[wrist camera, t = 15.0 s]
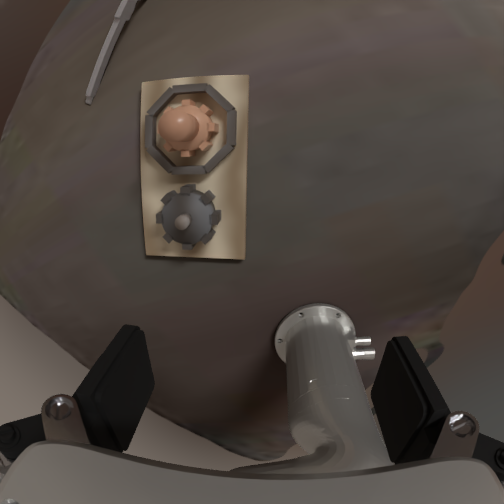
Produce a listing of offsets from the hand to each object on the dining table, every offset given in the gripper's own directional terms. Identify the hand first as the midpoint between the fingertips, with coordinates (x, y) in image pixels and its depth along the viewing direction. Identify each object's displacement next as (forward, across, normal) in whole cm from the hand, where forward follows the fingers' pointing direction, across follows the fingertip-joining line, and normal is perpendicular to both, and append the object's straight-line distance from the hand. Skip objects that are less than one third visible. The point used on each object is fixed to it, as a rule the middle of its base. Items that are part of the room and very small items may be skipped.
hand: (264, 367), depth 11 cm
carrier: (+30, +10, -5) cm, 32 cm away
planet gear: (+29, +10, -10) cm, 32 cm away
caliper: (+31, +22, -25) cm, 45 cm away
